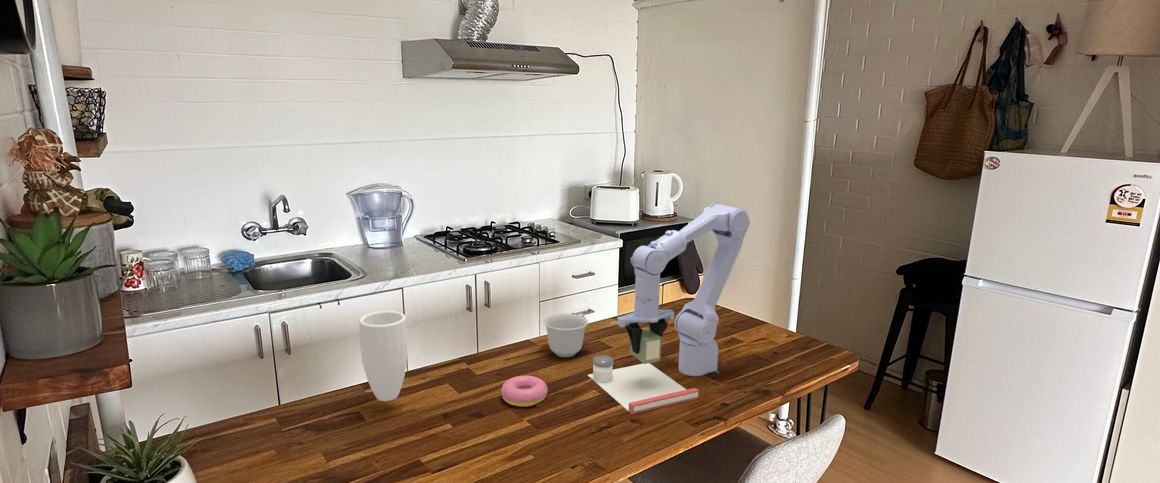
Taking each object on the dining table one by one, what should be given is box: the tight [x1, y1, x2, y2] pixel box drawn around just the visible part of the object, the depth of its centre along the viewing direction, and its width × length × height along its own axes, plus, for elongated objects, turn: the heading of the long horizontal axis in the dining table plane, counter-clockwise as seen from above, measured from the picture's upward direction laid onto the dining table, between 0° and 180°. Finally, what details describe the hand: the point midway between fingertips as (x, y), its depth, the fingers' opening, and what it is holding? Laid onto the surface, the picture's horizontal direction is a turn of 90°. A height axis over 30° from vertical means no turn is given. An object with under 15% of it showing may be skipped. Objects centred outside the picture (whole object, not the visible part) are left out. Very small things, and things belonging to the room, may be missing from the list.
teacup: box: [543, 313, 589, 358], centre depth 175 cm, size 12×15×10 cm
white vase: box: [358, 310, 408, 402], centre depth 143 cm, size 10×10×22 cm
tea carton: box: [629, 327, 662, 364], centre depth 155 cm, size 7×4×6 cm, turn 25°
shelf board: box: [587, 363, 700, 415], centre depth 156 cm, size 18×22×3 cm
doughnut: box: [500, 375, 549, 408], centre depth 151 cm, size 11×11×4 cm
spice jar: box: [592, 354, 614, 383], centre depth 159 cm, size 5×5×5 cm
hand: (644, 350), depth 156 cm, fingers closed on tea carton, 4 cm apart
